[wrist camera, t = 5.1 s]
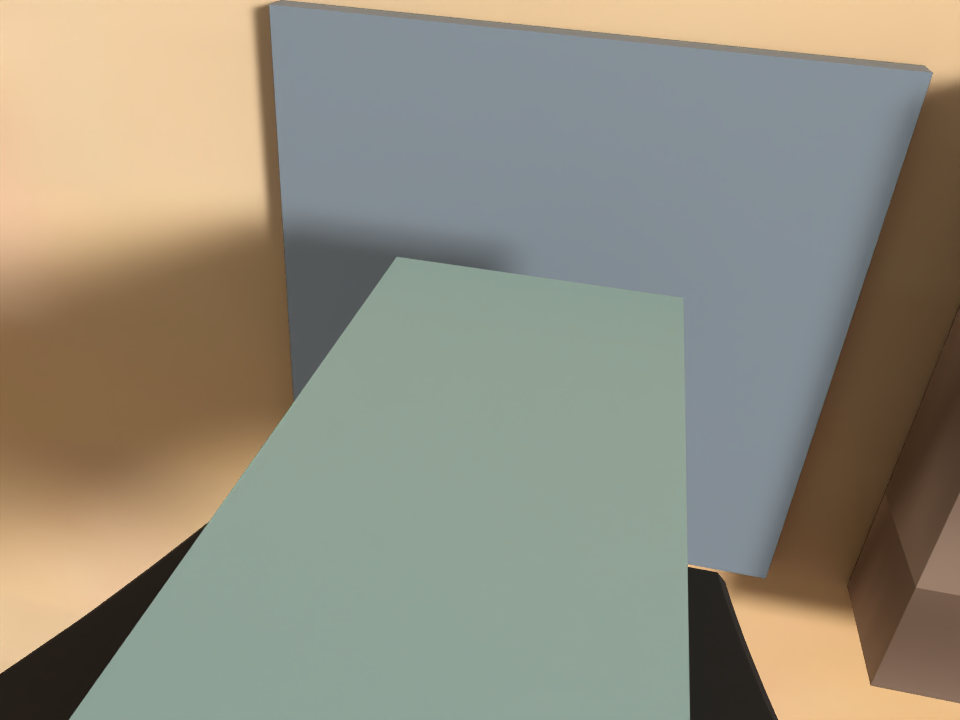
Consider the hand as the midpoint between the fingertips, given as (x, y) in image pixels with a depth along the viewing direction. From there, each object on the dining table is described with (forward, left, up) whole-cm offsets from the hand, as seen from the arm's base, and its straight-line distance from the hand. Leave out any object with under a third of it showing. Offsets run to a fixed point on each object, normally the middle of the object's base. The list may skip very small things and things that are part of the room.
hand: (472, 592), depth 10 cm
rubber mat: (0, 0, -7) cm, 7 cm away
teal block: (0, 0, -4) cm, 4 cm away
